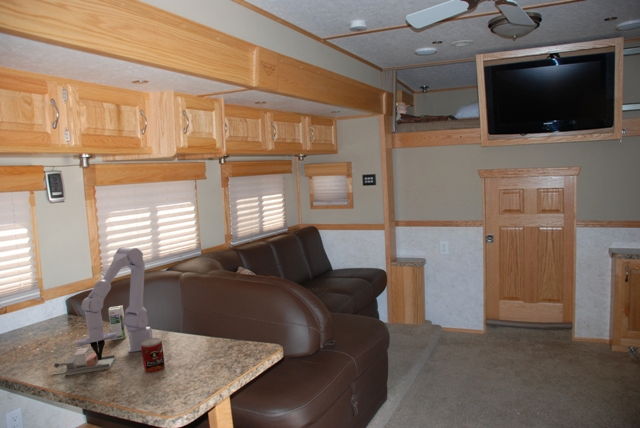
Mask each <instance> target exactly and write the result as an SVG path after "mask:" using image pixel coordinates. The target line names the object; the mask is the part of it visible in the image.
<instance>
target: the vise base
mask: <svg viewBox="0 0 640 428" xmlns="http://www.w3.org/2000/svg"><path fill="white" fill-rule="evenodd" d="M115 355H116V354H111V355H103V356H102V360H99V361H98V362H97V364H96V365H95V366H88V367H82V368H76V365H75V359H74V355H72V356H71V357H70V358H69V359H68V361H67V362H62V363H58V362H56V363H54V364H53V366H54V368H59V367H60V366H61V367H62V366H66V376H69V375H70V376H71V375H77V374H78V375H79V374H84V373H91V372H97V371H104V369H105V370H110V369H111V368H112V366H113V364H114V362H115V361H116V356H115Z"/></svg>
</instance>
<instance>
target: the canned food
mask: <svg viewBox="0 0 640 428" xmlns="http://www.w3.org/2000/svg"><path fill="white" fill-rule="evenodd" d="M163 348H164V347H163V342H162V338H161V337H153V338H150V339H147V340H144V341H143V342H141V349H142V351H141V354H142V355H141V356H142V364H143V369H144V372H146V373H148V374H149V373H150V374H151V373H157V371H158V372H160V371H161V370H164V369H165V365H166V364H165V355H164V349H163Z"/></svg>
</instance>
